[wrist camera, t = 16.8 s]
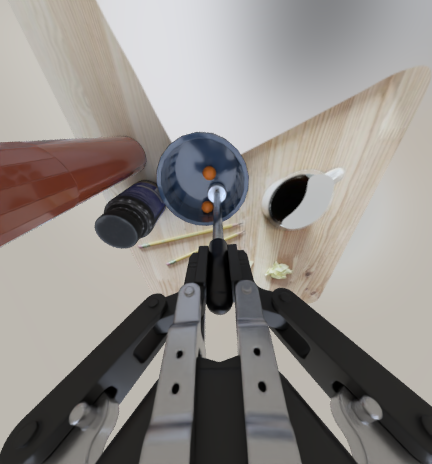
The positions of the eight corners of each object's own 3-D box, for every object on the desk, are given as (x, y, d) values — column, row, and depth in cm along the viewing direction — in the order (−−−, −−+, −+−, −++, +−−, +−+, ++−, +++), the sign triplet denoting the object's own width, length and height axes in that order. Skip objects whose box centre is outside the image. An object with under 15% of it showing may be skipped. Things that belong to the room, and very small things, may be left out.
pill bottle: (129, 176, 25) (79, 203, 16) (168, 183, 25) (141, 212, 16) (134, 211, 28) (94, 250, 19) (168, 215, 29) (146, 256, 19)
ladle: (208, 201, 26) (196, 327, 9) (206, 183, 24) (188, 298, 8) (226, 200, 26) (246, 325, 9) (225, 182, 24) (248, 295, 8)
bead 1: (203, 165, 24) (211, 175, 25) (197, 175, 23) (207, 184, 24) (211, 161, 22) (220, 171, 23) (206, 171, 21) (215, 181, 23)
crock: (119, 174, 25) (-83, 266, 8) (104, 137, 22) (-253, 159, 5) (150, 171, 24) (10, 260, 8) (139, 134, 22) (-115, 146, 5)
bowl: (175, 214, 29) (169, 228, 24) (157, 135, 22) (143, 137, 18) (242, 209, 28) (246, 223, 24) (243, 128, 21) (250, 127, 17)
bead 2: (214, 199, 26) (203, 198, 26) (208, 206, 24) (198, 204, 25) (216, 209, 27) (206, 207, 28) (211, 216, 26) (201, 214, 27)
